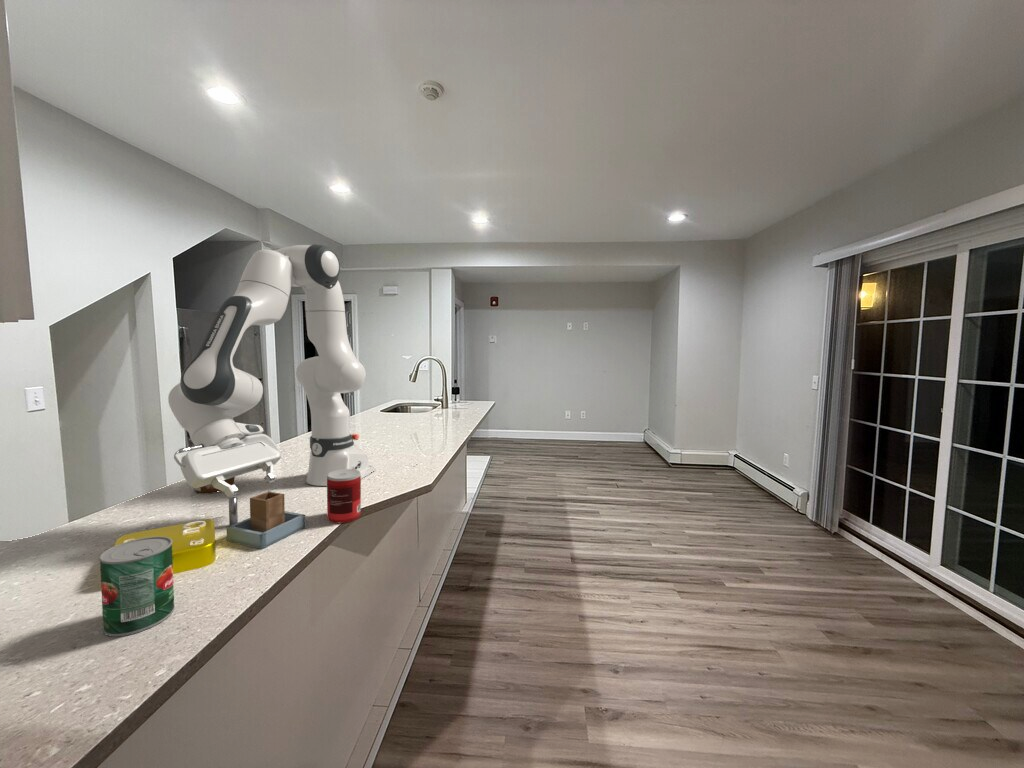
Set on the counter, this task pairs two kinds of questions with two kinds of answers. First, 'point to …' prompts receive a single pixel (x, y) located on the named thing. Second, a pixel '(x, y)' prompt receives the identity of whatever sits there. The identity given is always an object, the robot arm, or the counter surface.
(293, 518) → the slate tray
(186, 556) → the element tile
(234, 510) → the metal post
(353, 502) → the canned food
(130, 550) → the canned tomato
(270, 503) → the walnut tube
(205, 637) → the counter surface
